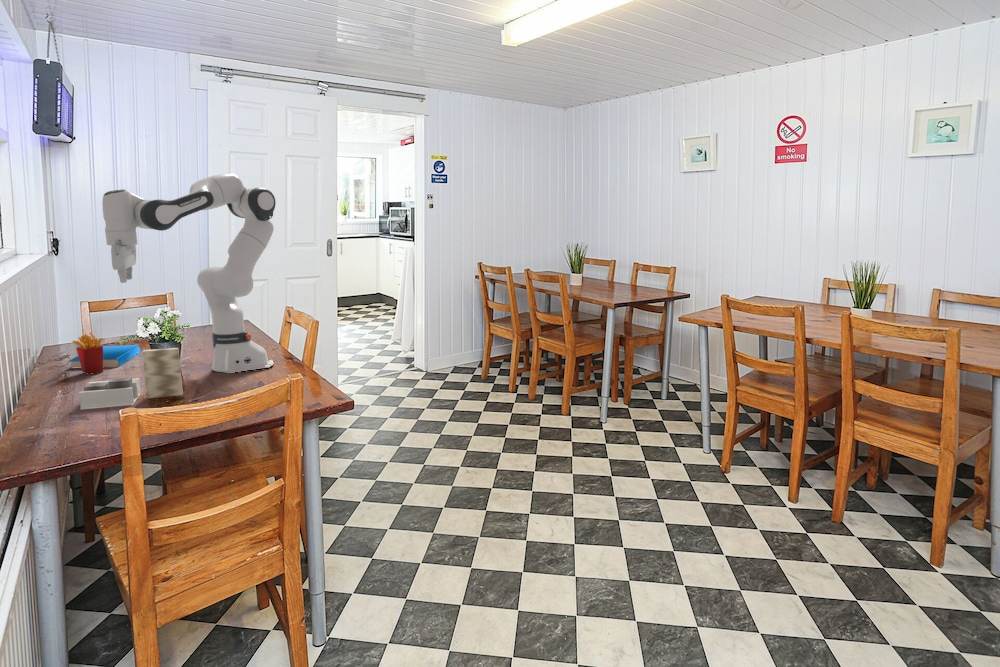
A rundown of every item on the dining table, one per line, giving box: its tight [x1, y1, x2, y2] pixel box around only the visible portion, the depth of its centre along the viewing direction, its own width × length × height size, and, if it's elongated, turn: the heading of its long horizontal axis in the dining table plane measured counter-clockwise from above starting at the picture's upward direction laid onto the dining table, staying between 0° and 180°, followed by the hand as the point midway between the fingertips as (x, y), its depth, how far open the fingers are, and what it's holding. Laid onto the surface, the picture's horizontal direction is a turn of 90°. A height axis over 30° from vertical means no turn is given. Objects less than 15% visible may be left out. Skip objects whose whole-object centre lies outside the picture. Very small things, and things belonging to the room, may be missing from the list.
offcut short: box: [83, 382, 109, 391], centre depth 193 cm, size 6×4×6 cm
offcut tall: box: [108, 376, 134, 397], centre depth 195 cm, size 6×4×7 cm
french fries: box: [72, 332, 104, 375], centre depth 233 cm, size 9×8×15 cm
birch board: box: [141, 347, 184, 399], centre depth 200 cm, size 10×2×16 cm, turn 110°
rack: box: [78, 377, 142, 411], centre depth 196 cm, size 14×14×6 cm
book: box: [69, 344, 141, 368], centre depth 253 cm, size 17×4×25 cm
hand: (126, 280), depth 210 cm, fingers open, 8 cm apart
